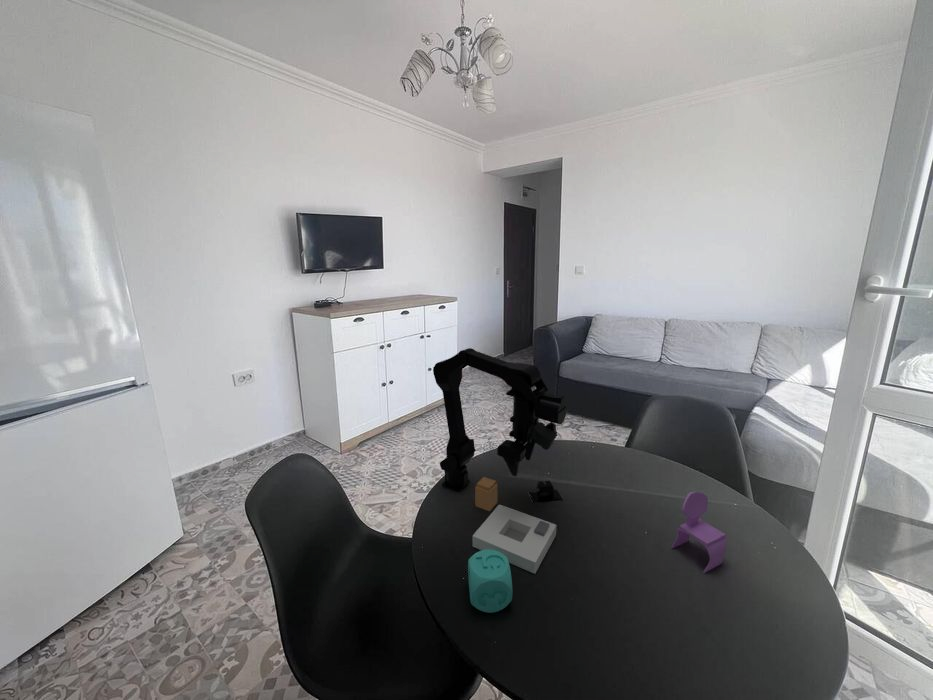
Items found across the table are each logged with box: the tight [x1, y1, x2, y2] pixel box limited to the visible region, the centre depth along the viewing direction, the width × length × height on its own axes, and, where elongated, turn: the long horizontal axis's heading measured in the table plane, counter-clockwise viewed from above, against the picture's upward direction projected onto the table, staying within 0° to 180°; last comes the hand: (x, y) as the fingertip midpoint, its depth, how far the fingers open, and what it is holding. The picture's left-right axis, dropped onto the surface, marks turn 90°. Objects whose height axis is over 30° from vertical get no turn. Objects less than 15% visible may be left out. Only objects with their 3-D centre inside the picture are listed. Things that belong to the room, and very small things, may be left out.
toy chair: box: [670, 491, 727, 574], centre depth 85 cm, size 8×9×15 cm
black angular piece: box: [528, 480, 564, 504], centre depth 110 cm, size 12×7×5 cm, turn 96°
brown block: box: [474, 476, 499, 512], centre depth 106 cm, size 5×5×7 cm
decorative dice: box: [467, 549, 513, 614], centre depth 77 cm, size 8×8×8 cm
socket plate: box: [472, 504, 558, 575], centre depth 92 cm, size 16×14×4 cm
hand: (521, 467), depth 101 cm, fingers open, 9 cm apart
